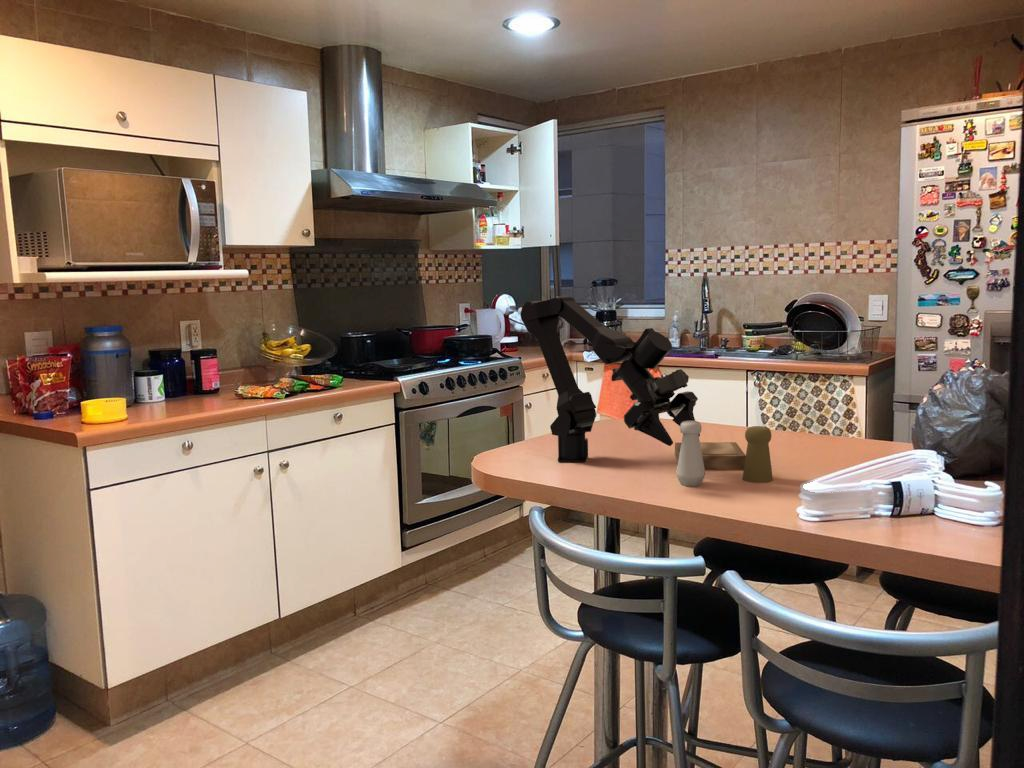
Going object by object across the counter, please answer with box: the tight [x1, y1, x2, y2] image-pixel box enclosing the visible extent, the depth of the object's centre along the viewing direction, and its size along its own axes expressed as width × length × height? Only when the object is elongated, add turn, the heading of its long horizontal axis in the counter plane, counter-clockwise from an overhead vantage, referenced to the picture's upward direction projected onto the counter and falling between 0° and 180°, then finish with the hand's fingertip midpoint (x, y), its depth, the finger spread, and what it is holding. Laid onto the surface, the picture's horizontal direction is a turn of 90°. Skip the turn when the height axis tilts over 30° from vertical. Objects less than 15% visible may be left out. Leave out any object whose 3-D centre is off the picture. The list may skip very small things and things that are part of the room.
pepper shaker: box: [742, 425, 774, 484], centre depth 167 cm, size 6×6×11 cm
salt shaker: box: [675, 420, 706, 488], centre depth 165 cm, size 6×6×13 cm
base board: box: [674, 441, 746, 471], centre depth 184 cm, size 14×14×3 cm
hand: (685, 440), depth 166 cm, fingers open, 9 cm apart
